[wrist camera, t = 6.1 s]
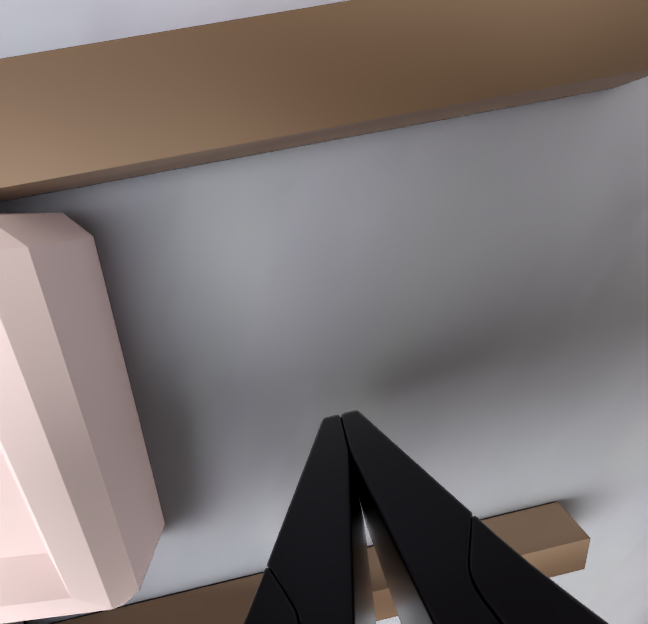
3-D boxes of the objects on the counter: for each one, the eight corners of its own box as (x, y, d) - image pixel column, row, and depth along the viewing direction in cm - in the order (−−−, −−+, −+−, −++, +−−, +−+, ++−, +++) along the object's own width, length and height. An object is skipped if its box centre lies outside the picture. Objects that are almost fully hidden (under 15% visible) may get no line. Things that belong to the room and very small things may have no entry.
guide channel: (553, 531, 11) (645, 644, 8) (7, 665, 10) (-101, 843, 7) (625, -8, 6) (960, -217, 3) (-503, 187, 5) (-1582, 164, 2)
